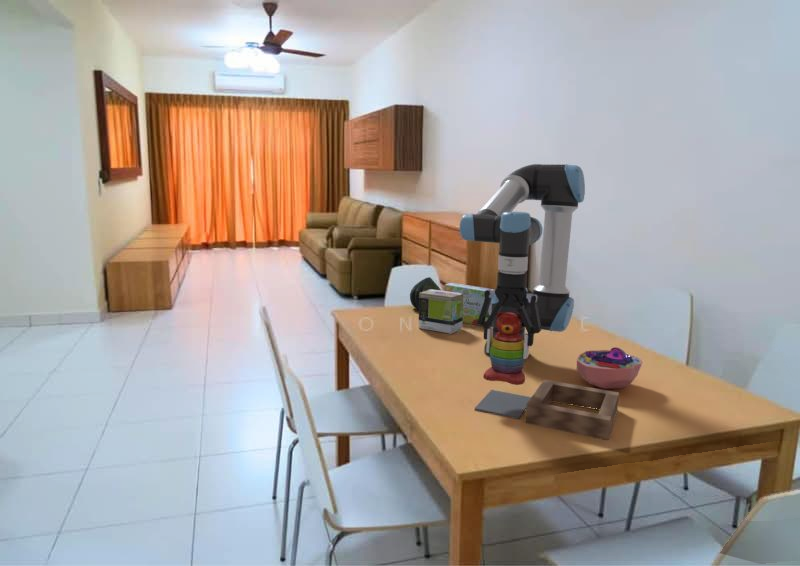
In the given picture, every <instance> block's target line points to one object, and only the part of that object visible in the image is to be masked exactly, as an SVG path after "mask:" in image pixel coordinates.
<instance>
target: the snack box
mask: <svg viewBox="0 0 800 566" xmlns="http://www.w3.org/2000/svg"><path fill="white" fill-rule="evenodd" d="M488 289H489V288H487V287H481V286H474V285H468V284H463V283H455V282H448V283H446V284H444V291H449V292H457V293H463V321H462V323H464V324H465V323H466V324H470V325H474V326H481V325H478V323H477V322H478V319H479V316H480V313H481V309H482V306H483V303H484V300H485V291H486V290H488ZM490 289H491V290H495V289H492V288H490ZM492 298H493V297H492ZM491 303H492V299H491V302H490V306H489V309H488V312H487V315H486V318H485V321H487V319H488V318H489V316H490V315H491V311H492V304H491ZM481 327H482V326H481Z"/></svg>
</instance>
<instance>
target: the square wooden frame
mask: <svg viewBox="0 0 800 566" xmlns="http://www.w3.org/2000/svg"><path fill="white" fill-rule="evenodd" d="M619 396H620V392H618V391H614V390H613V391H611V390H608V389H602V388H593V387H589V386H584V385H577V384H571V383H567V382H566V383H565V382H560V381H556V380H555V381H554V380H549V379H543V380H542V381H541V383H540V385H539V386H538V388H537V389H536V390H535V392H534V393H533V394H532V396H530V397H531V399H530V400H529V401H528V403H527V404H526V410H525V419H524V420H525V421H524V422H525V424H529V425H534V426H539V427H544V428H546V429H553V430H557V431H563V432H568V433H572V434H577V435H582V436H585V437H586V436H587V437H591V436H592V438H595V437H596V438H595V439H600V438H601V440H605V439H606V441H609V438H610V436H609V435H611V432H612V428H613V426H612V425H614V423H613V422H615V420H614V419H616V416H615V415H617V413H618V406H619V399H620V397H619ZM552 402H553V403H558V402H559V404H563V403H565V404H564V405H568V404H573V405H572V406H574V405H578V406H577V407H579V406H584V407H591V408H595V409H596V408H597V409H600V410H598V413H594V412H588V411H584V410H578V409H573V408H568V407H563V406H557V405H552V404H551V403H552ZM584 407H583V408H584ZM595 409H594V410H595ZM616 412H617V413H616Z"/></svg>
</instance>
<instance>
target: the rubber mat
mask: <svg viewBox="0 0 800 566" xmlns="http://www.w3.org/2000/svg"><path fill="white" fill-rule="evenodd" d="M531 397H532V396H527V395H523V394H522V395H521V394H516V393H512V392H507V391H501V390H495V389H491V390H490V391H489V392H488V393H487V394H486V395H485V396H484V397H483V398H482V400H481V401H479V403H478V404H477V405H476V406H475V407H474V411H479V412H483V413H488V414H493V415H496V416H497V415H498V416H502V417H507V418H512V419H517V420H520V418H521V417H522V415H523V414H524V412H526V404H527V403H528V401H529V400H530V399H531Z"/></svg>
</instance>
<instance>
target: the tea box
mask: <svg viewBox="0 0 800 566" xmlns="http://www.w3.org/2000/svg"><path fill="white" fill-rule="evenodd" d="M462 321H463V293H457V292H449V291H445V290H442V289H441V290H434V289H430V290H427V291H424V292H420V293H419V309H418V328H419V329H423V330H429V331H432V332H433V331H434V332H441V333H444V334H452V335H453V334H454V333H457V332H458V331H461V330H462V329H463V322H462Z"/></svg>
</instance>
